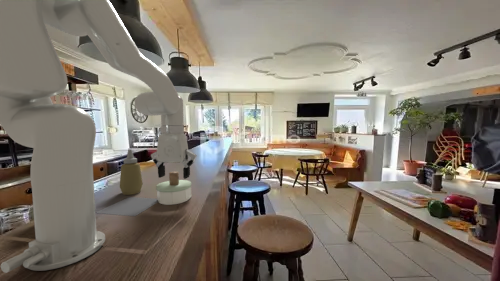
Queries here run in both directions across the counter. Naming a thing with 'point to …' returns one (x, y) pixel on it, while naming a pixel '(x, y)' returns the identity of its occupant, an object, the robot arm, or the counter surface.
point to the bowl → (173, 197)
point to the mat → (129, 206)
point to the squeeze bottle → (130, 175)
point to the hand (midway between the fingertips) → (174, 177)
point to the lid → (173, 184)
